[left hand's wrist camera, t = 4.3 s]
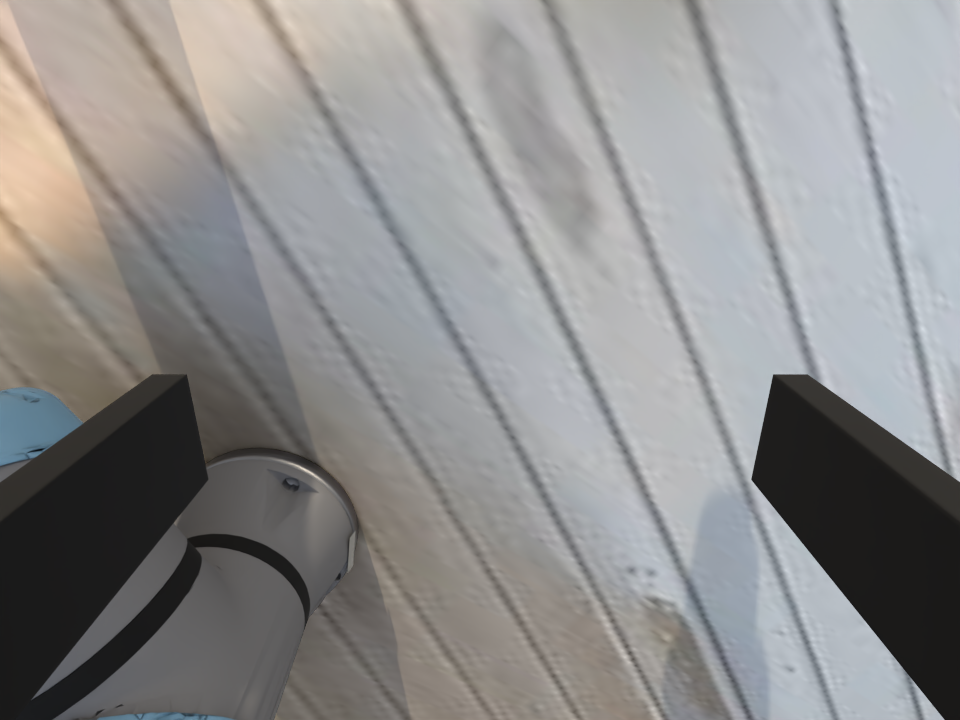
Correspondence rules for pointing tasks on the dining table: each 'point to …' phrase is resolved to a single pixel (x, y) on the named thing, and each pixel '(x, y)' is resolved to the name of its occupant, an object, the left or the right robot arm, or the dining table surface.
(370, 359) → the dining table surface
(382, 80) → the dining table surface
